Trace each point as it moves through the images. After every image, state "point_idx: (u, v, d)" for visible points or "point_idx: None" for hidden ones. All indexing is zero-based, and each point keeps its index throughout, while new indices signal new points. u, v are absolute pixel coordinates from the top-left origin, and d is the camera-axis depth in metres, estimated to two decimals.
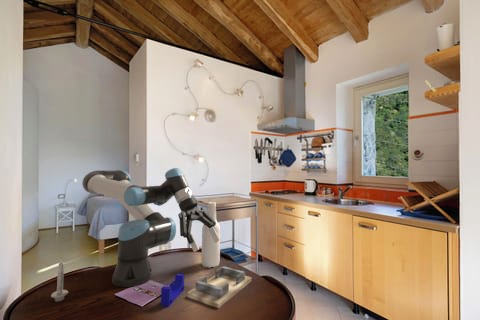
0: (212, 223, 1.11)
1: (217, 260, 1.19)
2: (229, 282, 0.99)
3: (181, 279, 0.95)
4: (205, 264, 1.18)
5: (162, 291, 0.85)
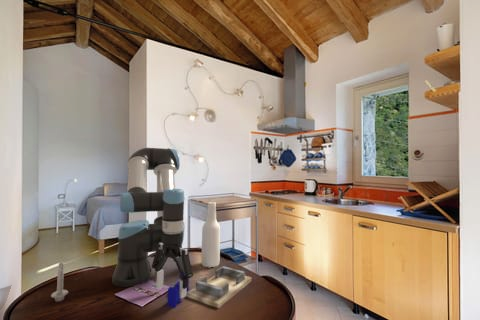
0: (182, 275, 0.87)
1: (217, 260, 1.19)
2: (229, 282, 0.99)
3: None
4: (205, 264, 1.18)
5: (169, 292, 0.85)
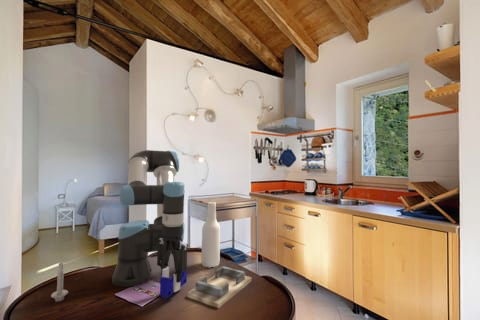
0: (177, 270, 0.89)
1: (217, 260, 1.19)
2: (229, 282, 0.99)
3: None
4: (205, 264, 1.18)
5: (161, 281, 0.87)
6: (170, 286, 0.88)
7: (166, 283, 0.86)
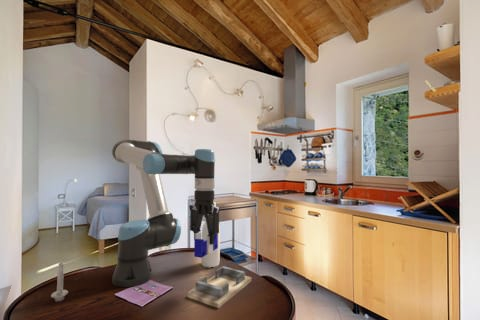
0: (210, 232, 0.92)
1: (217, 260, 1.19)
2: (229, 282, 0.99)
3: (214, 237, 0.99)
4: (205, 264, 1.18)
5: (195, 242, 0.90)
6: (204, 247, 0.91)
7: (200, 243, 0.89)
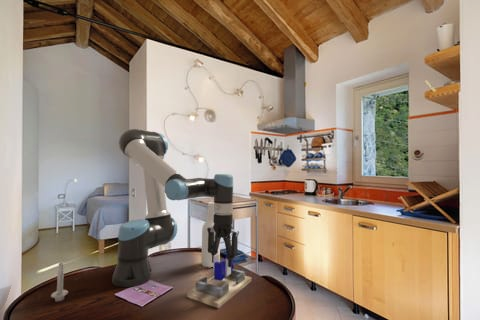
0: (229, 255, 0.95)
1: None
2: (229, 282, 0.99)
3: None
4: (205, 264, 1.18)
5: (215, 266, 0.94)
6: (223, 270, 0.94)
7: (220, 267, 0.93)
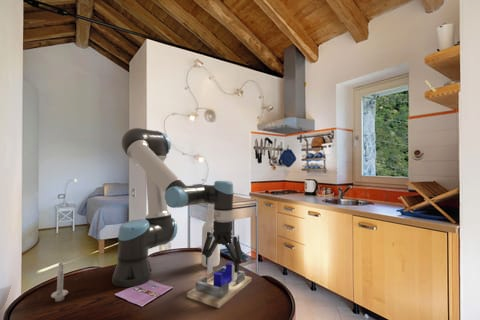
0: (235, 260, 0.94)
1: (217, 260, 1.19)
2: None
3: (231, 268, 1.02)
4: (205, 264, 1.18)
5: (214, 276, 0.94)
6: (222, 281, 0.94)
7: (219, 278, 0.93)
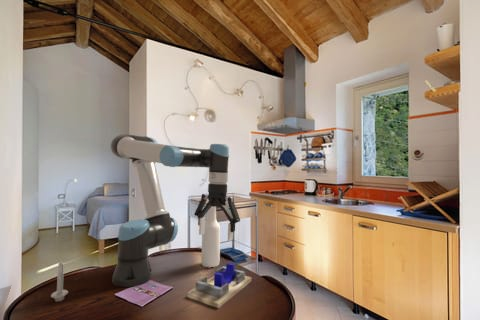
0: (231, 220, 0.94)
1: (217, 260, 1.19)
2: None
3: (232, 268, 1.02)
4: (205, 264, 1.18)
5: (215, 277, 0.93)
6: (223, 281, 0.94)
7: (220, 278, 0.93)
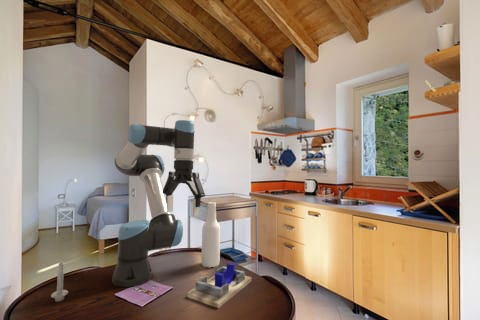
0: (195, 195, 0.94)
1: (217, 260, 1.19)
2: None
3: (232, 268, 1.02)
4: (205, 264, 1.18)
5: (215, 277, 0.93)
6: (224, 281, 0.94)
7: (221, 278, 0.93)
